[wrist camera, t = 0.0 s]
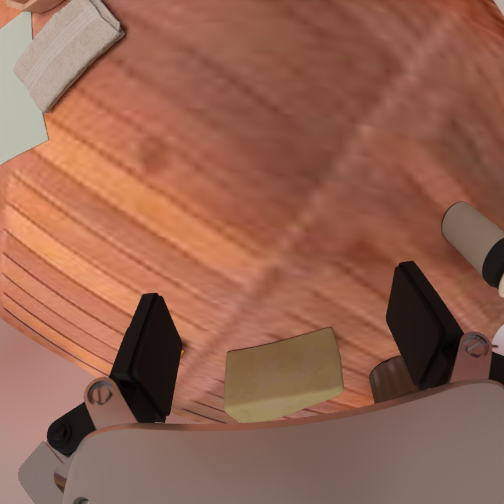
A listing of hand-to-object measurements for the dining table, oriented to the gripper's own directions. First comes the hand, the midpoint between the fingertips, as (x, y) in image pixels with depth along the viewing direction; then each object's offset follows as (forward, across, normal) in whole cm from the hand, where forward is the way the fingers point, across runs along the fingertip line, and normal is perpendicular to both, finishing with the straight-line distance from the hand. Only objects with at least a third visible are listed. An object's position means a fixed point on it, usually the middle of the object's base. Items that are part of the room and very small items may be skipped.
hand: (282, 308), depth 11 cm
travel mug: (+31, -35, +15) cm, 49 cm away
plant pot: (+32, -28, +57) cm, 71 cm away
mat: (+31, +40, -22) cm, 55 cm away
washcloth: (+31, +25, -22) cm, 46 cm away
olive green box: (+32, 0, +40) cm, 51 cm away
